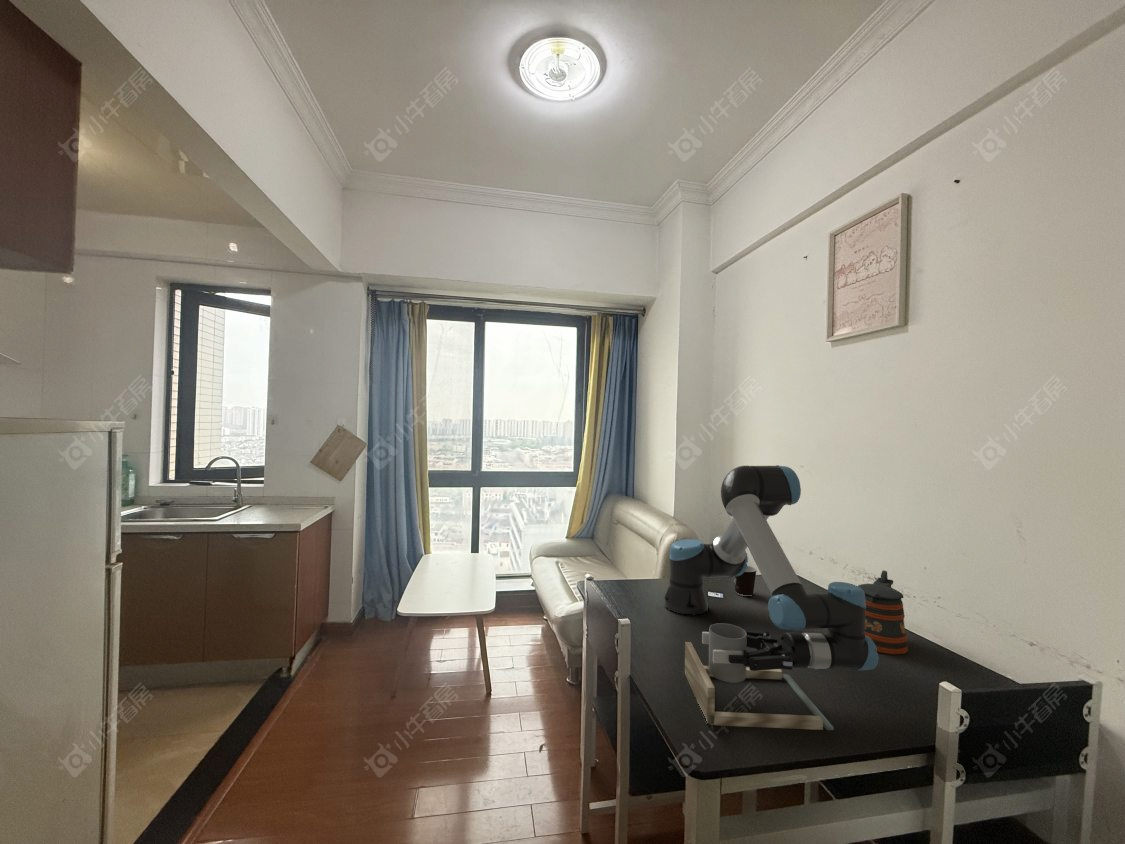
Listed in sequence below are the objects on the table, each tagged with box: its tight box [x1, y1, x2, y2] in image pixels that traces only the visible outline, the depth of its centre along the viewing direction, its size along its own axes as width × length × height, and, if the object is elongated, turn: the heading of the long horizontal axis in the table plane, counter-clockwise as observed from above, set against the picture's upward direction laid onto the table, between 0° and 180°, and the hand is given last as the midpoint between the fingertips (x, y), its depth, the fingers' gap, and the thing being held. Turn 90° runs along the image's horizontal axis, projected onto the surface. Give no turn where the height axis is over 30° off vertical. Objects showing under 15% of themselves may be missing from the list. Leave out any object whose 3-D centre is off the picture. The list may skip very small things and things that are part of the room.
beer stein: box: [857, 570, 909, 656], centre depth 140 cm, size 19×15×20 cm
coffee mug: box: [733, 565, 757, 596], centre depth 179 cm, size 12×9×10 cm
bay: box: [684, 641, 835, 731], centre depth 108 cm, size 27×21×8 cm
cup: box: [708, 622, 748, 684], centre depth 109 cm, size 8×8×10 cm
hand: (707, 646), depth 109 cm, fingers closed on cup, 8 cm apart
